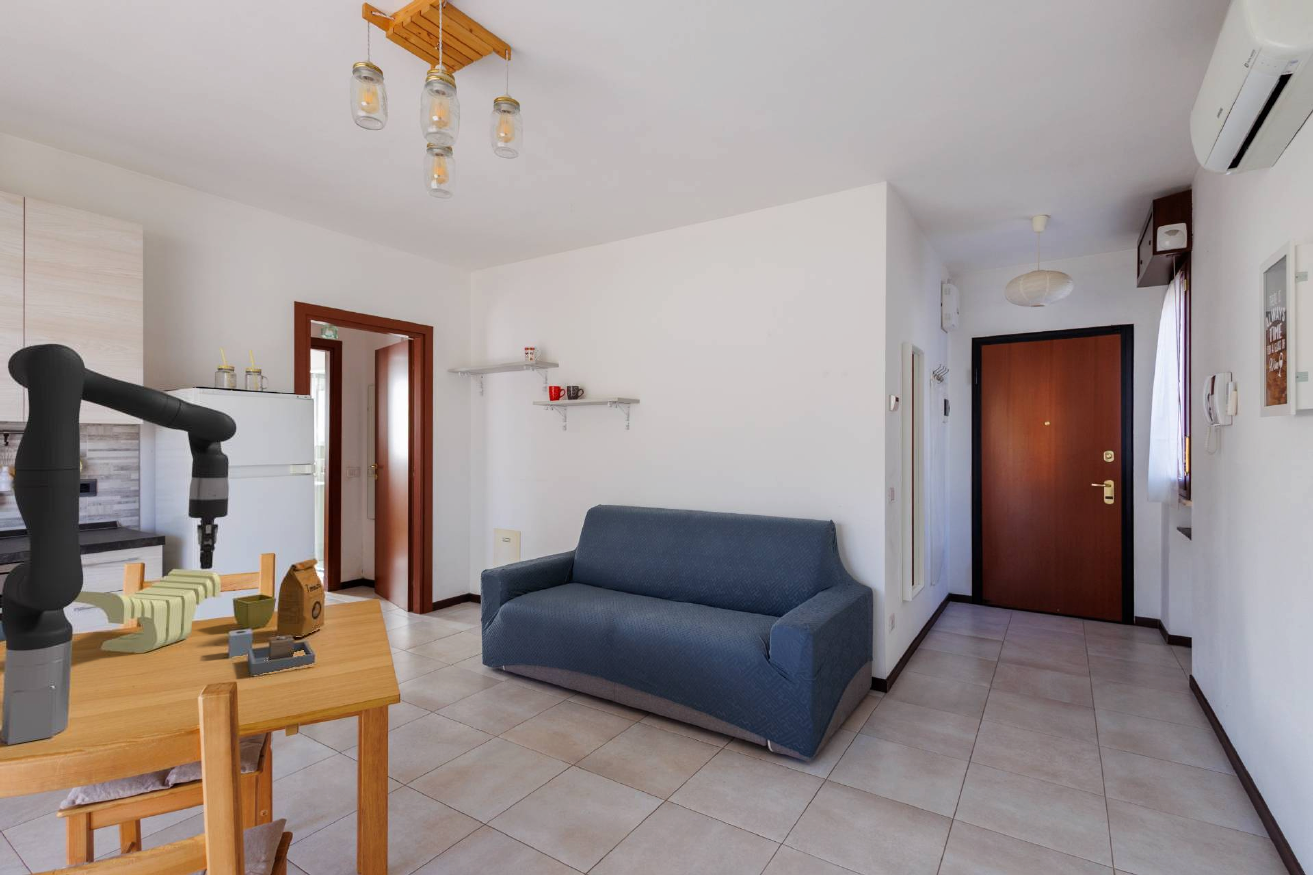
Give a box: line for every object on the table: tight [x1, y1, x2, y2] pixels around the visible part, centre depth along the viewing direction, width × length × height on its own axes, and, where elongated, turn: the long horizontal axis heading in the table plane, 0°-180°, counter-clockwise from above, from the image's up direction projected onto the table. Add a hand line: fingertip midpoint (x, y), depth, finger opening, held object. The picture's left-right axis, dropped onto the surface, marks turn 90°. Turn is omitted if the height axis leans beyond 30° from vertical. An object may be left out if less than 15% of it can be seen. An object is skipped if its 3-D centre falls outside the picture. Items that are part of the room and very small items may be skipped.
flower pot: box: [232, 593, 277, 630], centre depth 193 cm, size 9×9×9 cm
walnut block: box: [268, 635, 295, 661], centre depth 162 cm, size 5×5×6 cm
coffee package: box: [276, 558, 326, 637], centre depth 188 cm, size 10×12×22 cm
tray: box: [246, 640, 316, 676], centre depth 162 cm, size 14×14×3 cm
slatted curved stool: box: [72, 568, 222, 654], centre depth 174 cm, size 30×16×18 cm, turn 173°
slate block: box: [227, 628, 254, 659], centre depth 169 cm, size 5×5×6 cm
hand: (205, 565), depth 147 cm, fingers open, 8 cm apart
